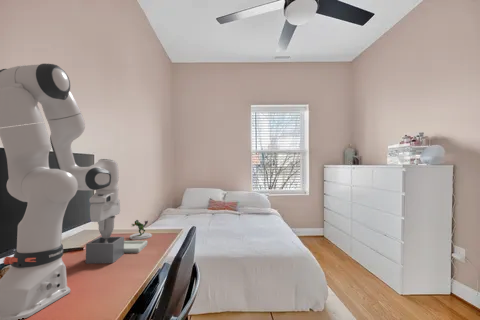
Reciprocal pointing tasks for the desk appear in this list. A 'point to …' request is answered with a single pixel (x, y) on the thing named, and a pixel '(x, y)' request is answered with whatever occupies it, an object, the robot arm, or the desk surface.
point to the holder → (104, 250)
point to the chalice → (108, 228)
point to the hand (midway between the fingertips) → (106, 228)
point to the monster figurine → (140, 235)
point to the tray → (134, 246)
